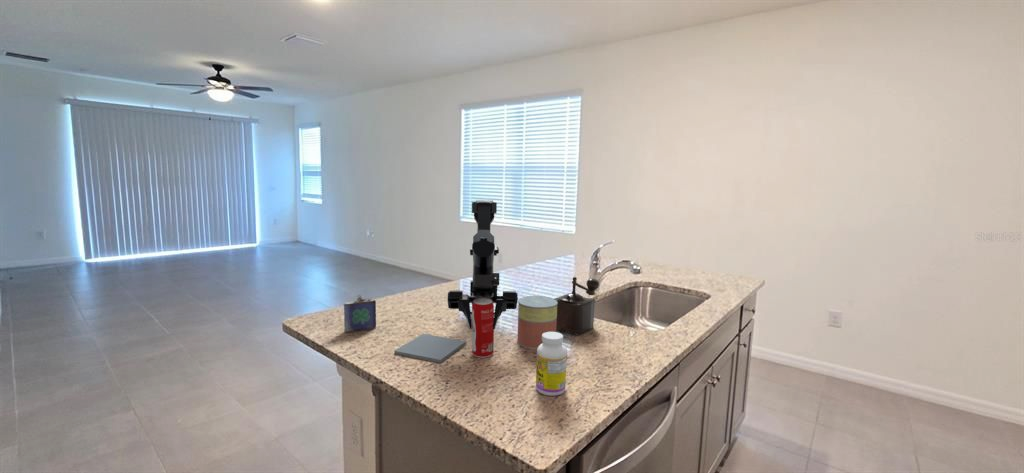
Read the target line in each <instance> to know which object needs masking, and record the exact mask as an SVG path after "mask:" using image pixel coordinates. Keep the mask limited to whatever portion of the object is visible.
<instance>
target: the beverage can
mask: <svg viewBox="0 0 1024 473" xmlns="http://www.w3.org/2000/svg"><path fill="white" fill-rule="evenodd" d="M471 312H472V314H471V323H472V327H471V347H472V348H471V352H472V354H473V356H475V357H476V358H482V359H485V358H488V357H491V356H493V354H494V352H495V351H494V348H495V347H494V345H495V342H494V341H495V340H494V339H495V335H494V334H495V333H494V332H495V331H494V330H495V329H493V322H494V312H495V303H493V301H492V300H491V299H489V298H477V299H475V300H474V301H473V304H472V303H471Z"/></svg>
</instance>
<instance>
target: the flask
mask: <svg viewBox="0 0 1024 473" xmlns="http://www.w3.org/2000/svg"><path fill="white" fill-rule="evenodd" d="M376 302H377V301H376V300H375V299H374V298H368V297H367V298H363V297H362V294H358V295H356V300H352V301H347V302H344V303H343V316H344V322H343V323H344V328H343V329H344V332H345V333H346V334H347V333H349V334H350V333H356V332H357V333H358V332H362V331H368V330H369V331H370V330H375V329H377V328H376V326H377V303H376Z"/></svg>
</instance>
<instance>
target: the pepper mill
mask: <svg viewBox="0 0 1024 473" xmlns="http://www.w3.org/2000/svg"><path fill="white" fill-rule="evenodd" d="M577 280H578V279H577V277H576V276H574V277H572V281H571V284H572V291H571V292H570V293H567V294H563V295H560V296H559V297H555V298H554V299H555V300H556V301H557V302H558V304H557V325H556V332H559V333H560V332H561V333H564V334H569V335H573V336H581V335H584V334H586V333H587V332H590V331H591V330H592V329H593V328H594V326H595V325H594V322H595V319H594V318H595V307H596V306H595V305H596V299H592V298H588V297H584V296H582V295H581V294H578V293H577V292H576V287H577V288H580V289H582V290H584V291H585V293H586V294H587V295H588V296H595V295H596V290H597V289H598V288H599V287H600V282H599V281H598V280H597V279H595V278H589V279H587V280H586V286H584V285H582V284H579V283H578V282H577Z"/></svg>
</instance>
